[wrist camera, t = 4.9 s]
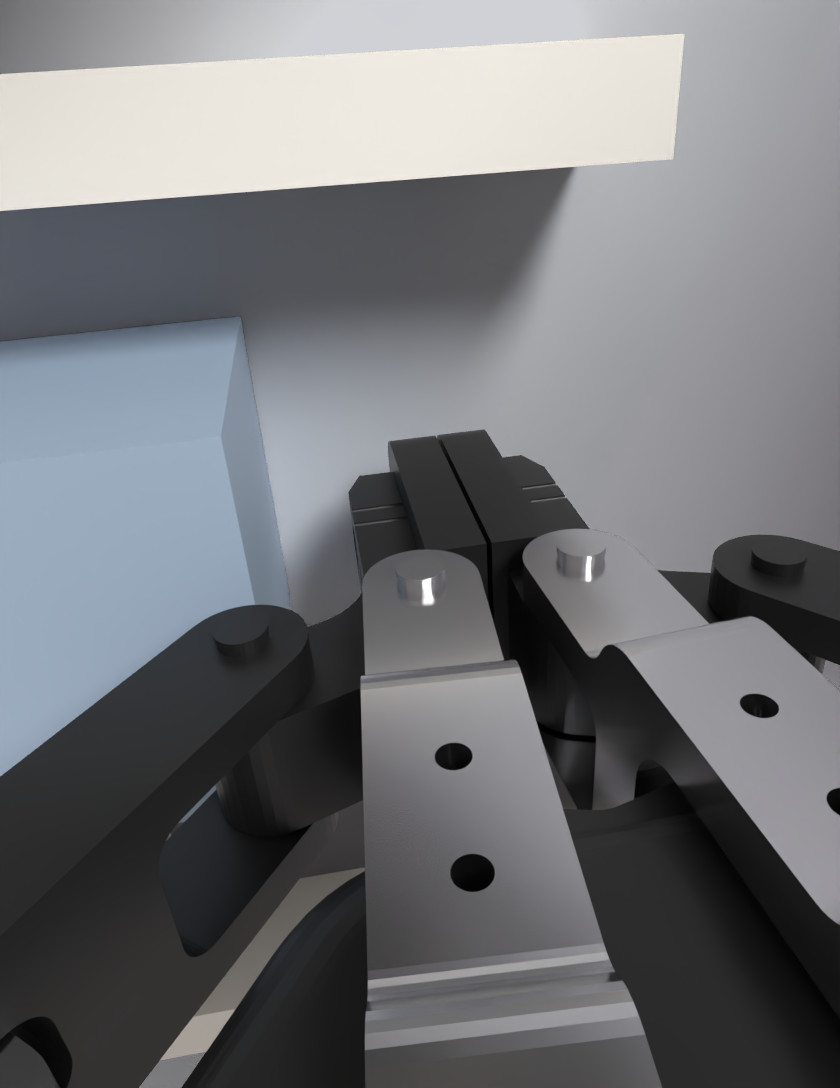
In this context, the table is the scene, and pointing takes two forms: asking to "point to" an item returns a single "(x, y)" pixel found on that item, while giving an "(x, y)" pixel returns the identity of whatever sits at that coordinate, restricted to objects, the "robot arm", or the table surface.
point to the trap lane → (322, 160)
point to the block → (123, 511)
